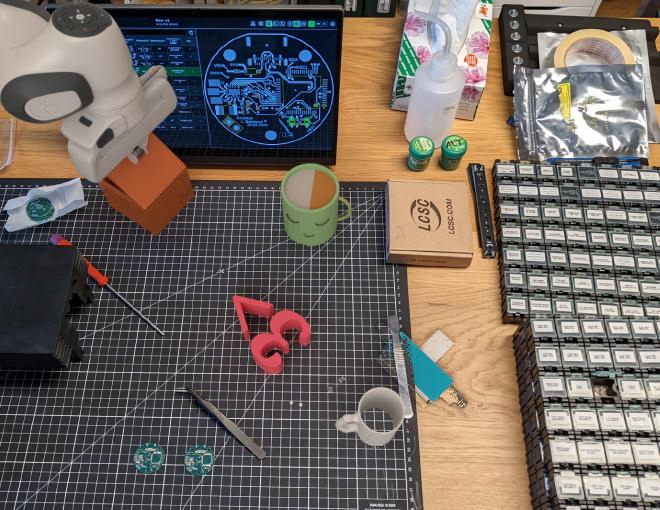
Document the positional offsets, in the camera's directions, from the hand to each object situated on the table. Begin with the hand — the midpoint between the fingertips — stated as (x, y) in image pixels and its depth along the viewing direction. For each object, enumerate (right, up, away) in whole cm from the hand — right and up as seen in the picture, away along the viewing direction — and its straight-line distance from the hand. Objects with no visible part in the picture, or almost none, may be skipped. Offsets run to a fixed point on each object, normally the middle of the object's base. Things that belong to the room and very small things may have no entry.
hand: (138, 156), depth 105 cm
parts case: (-2, -6, +14) cm, 15 cm away
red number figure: (+21, -30, +2) cm, 37 cm away
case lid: (-1, -1, +2) cm, 3 cm away
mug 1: (+30, -11, +12) cm, 34 cm away
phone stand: (+48, -35, 0) cm, 60 cm away
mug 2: (+38, -45, -5) cm, 59 cm away
